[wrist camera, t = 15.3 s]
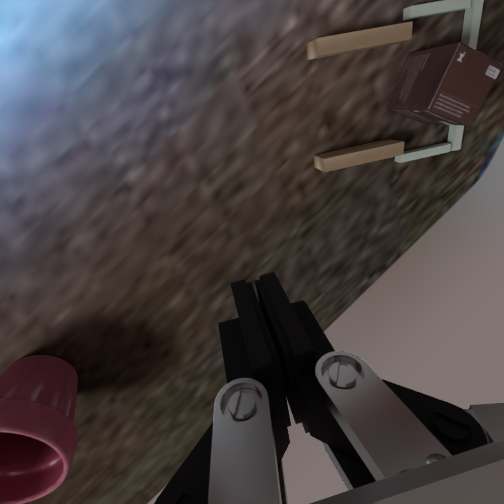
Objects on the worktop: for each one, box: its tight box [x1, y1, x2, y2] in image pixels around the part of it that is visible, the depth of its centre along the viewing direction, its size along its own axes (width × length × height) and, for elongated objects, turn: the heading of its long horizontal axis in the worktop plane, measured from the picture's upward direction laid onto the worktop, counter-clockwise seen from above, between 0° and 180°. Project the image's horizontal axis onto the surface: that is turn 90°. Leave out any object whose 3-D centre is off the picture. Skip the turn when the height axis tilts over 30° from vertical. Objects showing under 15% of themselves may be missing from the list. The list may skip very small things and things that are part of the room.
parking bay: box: [395, 0, 484, 163], centre depth 35 cm, size 16×8×1 cm, turn 10°
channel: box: [307, 21, 413, 172], centre depth 34 cm, size 13×10×3 cm
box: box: [387, 42, 502, 126], centre depth 33 cm, size 6×6×7 cm
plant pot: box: [0, 355, 78, 504], centre depth 38 cm, size 14×14×13 cm
